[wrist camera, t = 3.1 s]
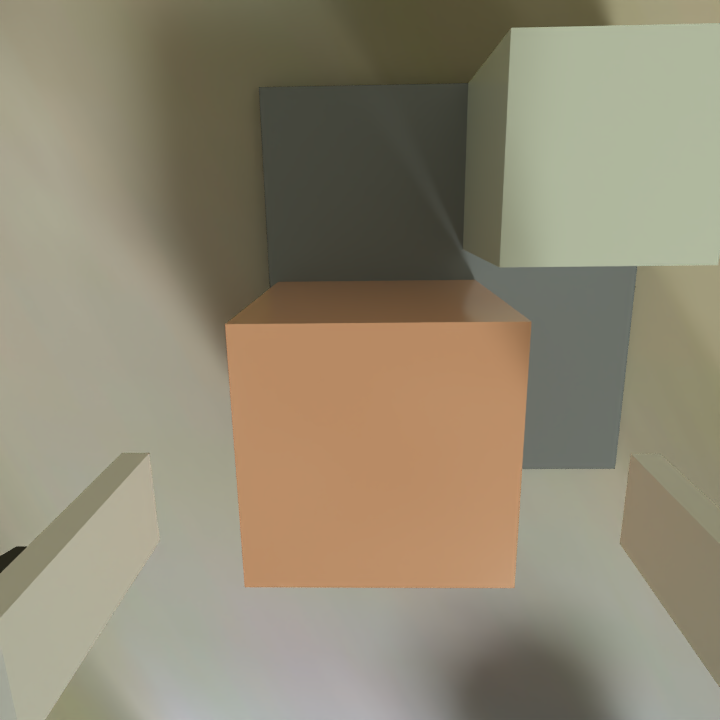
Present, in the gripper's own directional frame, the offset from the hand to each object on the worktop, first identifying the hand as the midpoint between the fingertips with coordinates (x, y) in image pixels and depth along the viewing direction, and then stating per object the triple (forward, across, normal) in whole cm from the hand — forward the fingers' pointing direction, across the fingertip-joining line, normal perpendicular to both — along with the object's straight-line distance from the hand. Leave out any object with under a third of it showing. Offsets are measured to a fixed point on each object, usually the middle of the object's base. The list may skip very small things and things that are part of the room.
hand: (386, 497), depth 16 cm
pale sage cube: (+13, +7, +9) cm, 17 cm away
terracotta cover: (+13, 0, 0) cm, 13 cm away
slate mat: (+13, +3, +4) cm, 14 cm away
